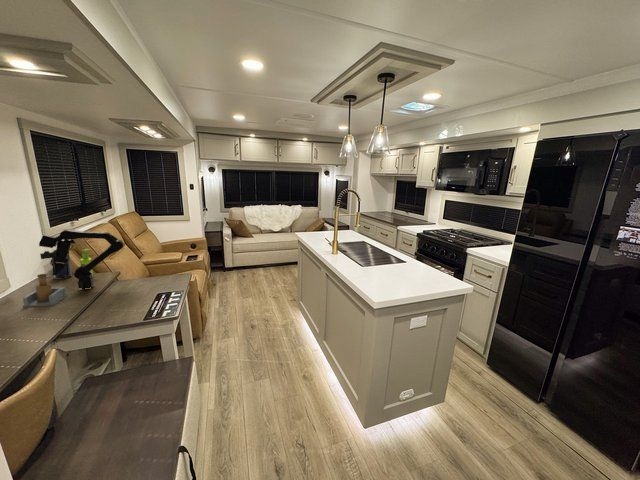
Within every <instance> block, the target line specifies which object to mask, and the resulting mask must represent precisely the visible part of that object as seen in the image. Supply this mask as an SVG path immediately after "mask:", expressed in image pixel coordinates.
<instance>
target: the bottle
mask: <svg viewBox="0 0 640 480" xmlns="http://www.w3.org/2000/svg"><path fill="white" fill-rule="evenodd" d="M59 235H60V234H56V235H55V236H54V237H57V236H59ZM61 241H63V240H61ZM58 243H59V242H57V245H56V247H57V246H58ZM55 250H56V249H54V250H52V253H53V252H54V251H55ZM67 259H68V263H65V264H66V265H65V266H64V267H63V269H62V270H61V271H60V272H59V273H58V274H57V275H53V277H54V279H55V278H65V277H69V276H73V275H72V274H73V273H72V266H71V257H70V253H69V254H68V256H67ZM69 278H70V277H69ZM65 279H66V278H65Z"/></svg>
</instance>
